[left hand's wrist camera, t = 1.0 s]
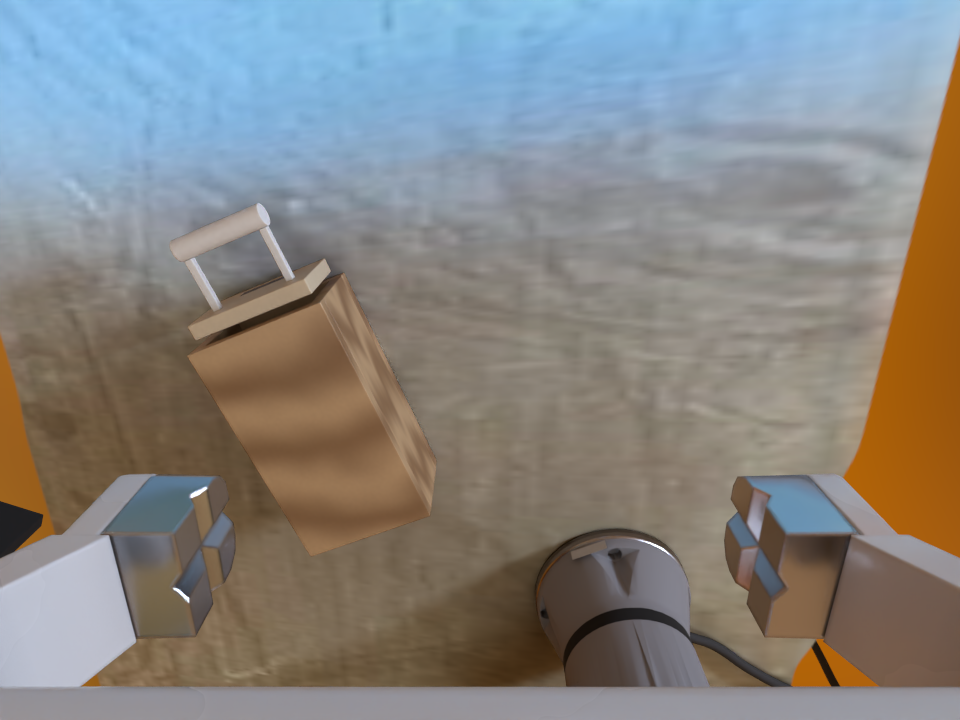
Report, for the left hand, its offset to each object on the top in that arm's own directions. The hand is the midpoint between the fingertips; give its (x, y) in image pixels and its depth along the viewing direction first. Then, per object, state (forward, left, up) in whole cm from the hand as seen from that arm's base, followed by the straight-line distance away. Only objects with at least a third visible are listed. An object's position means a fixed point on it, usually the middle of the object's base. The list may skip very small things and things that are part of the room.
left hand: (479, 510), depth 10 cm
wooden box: (+17, -14, -43) cm, 48 cm away
